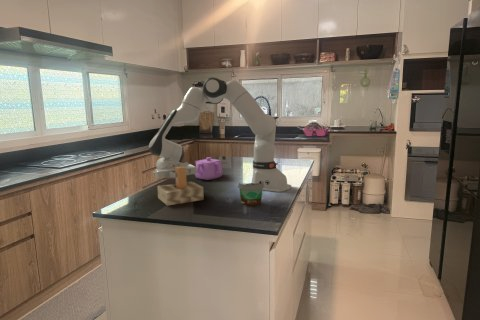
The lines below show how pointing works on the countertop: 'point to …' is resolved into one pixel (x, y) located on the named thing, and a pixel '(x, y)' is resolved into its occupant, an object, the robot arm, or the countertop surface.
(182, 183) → the plug
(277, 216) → the countertop surface
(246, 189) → the food container
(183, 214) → the countertop surface
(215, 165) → the teakettle
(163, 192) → the socket
